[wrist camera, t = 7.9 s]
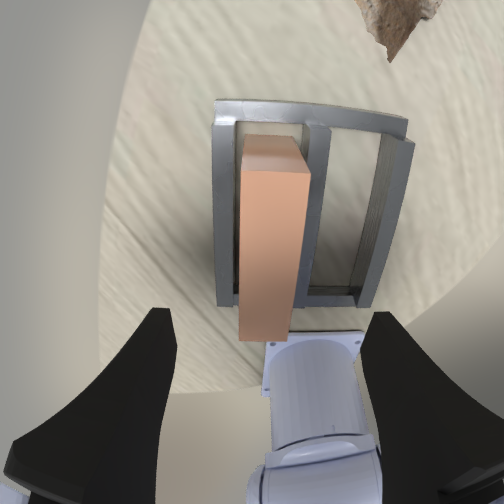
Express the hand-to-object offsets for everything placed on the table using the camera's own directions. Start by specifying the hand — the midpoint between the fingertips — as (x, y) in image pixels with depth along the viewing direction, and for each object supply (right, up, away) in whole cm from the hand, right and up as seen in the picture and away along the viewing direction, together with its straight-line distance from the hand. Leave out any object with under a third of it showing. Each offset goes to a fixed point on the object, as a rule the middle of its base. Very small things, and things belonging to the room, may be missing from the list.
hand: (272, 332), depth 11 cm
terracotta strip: (0, +5, +8) cm, 9 cm away
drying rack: (+2, +5, +8) cm, 9 cm away
